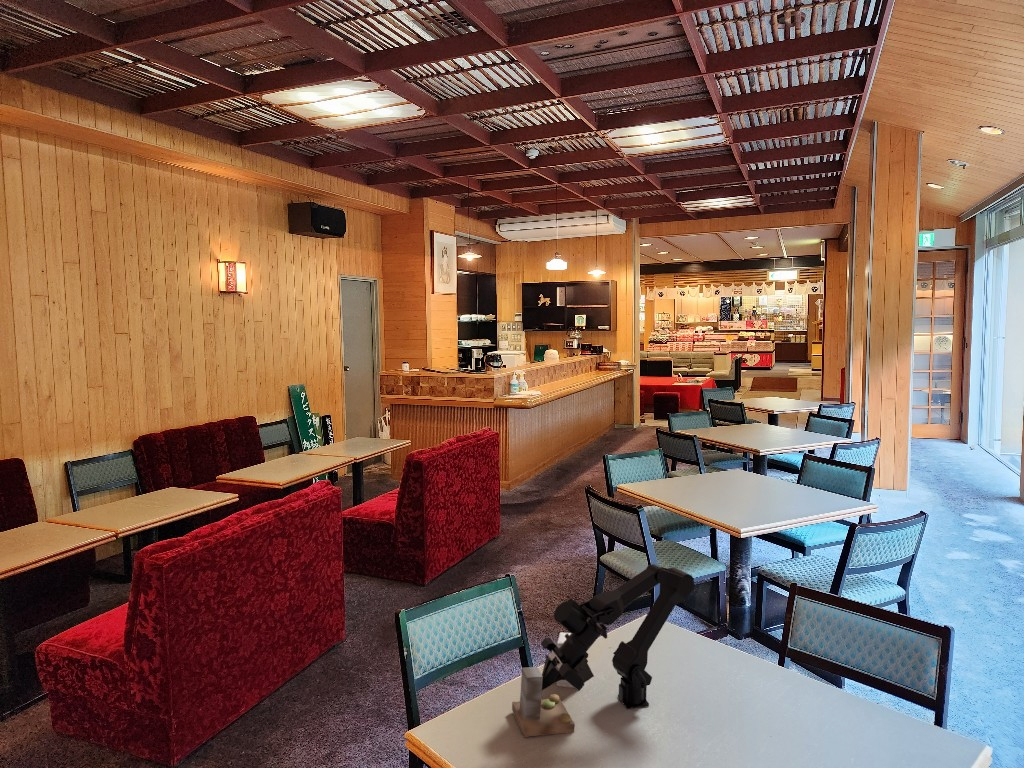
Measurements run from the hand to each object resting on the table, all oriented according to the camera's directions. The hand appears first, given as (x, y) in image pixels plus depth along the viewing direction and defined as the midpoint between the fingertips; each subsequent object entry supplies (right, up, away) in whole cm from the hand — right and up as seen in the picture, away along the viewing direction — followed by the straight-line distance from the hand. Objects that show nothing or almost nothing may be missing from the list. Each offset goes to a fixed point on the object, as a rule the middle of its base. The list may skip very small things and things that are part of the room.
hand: (540, 688), depth 168 cm
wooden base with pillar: (+1, -9, +1) cm, 9 cm away
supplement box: (+10, -8, +21) cm, 24 cm away
